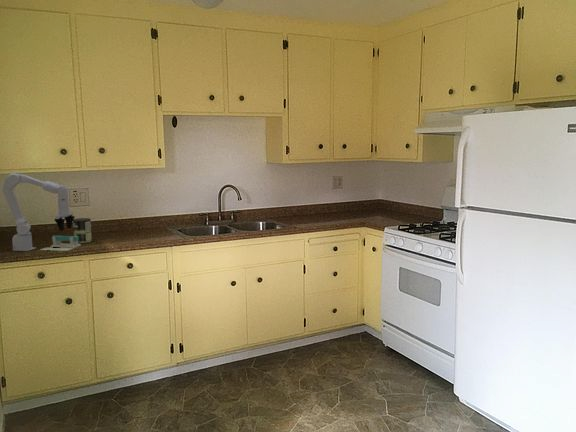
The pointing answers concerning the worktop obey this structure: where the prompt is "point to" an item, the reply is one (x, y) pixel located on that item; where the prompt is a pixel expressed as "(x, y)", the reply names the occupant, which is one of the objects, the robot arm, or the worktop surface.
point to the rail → (66, 238)
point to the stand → (58, 244)
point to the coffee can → (82, 229)
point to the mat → (57, 249)
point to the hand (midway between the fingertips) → (65, 229)
